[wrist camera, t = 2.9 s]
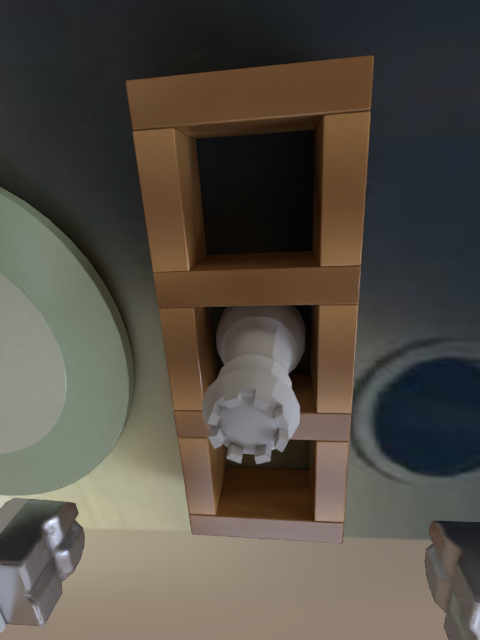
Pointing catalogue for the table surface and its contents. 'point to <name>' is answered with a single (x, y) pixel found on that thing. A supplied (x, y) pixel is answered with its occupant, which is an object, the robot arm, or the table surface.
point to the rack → (259, 279)
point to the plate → (55, 357)
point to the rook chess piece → (255, 381)
